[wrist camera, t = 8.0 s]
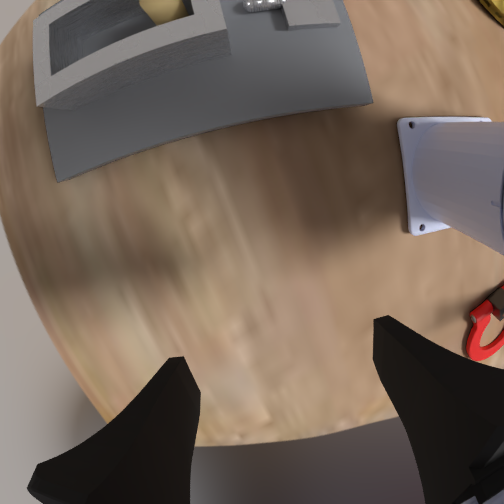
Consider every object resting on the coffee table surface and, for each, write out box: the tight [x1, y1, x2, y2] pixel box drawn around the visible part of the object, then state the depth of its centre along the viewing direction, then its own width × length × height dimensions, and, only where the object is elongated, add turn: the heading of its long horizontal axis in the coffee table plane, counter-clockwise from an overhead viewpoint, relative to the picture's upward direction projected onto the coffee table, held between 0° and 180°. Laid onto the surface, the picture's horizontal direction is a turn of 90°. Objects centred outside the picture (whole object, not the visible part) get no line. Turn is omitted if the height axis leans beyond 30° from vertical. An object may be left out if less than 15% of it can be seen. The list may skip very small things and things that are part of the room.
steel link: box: [33, 0, 232, 111], centre depth 11 cm, size 10×6×4 cm, turn 102°
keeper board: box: [39, 0, 373, 183], centre depth 11 cm, size 20×14×6 cm
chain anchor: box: [243, 0, 341, 31], centre depth 12 cm, size 5×4×1 cm
